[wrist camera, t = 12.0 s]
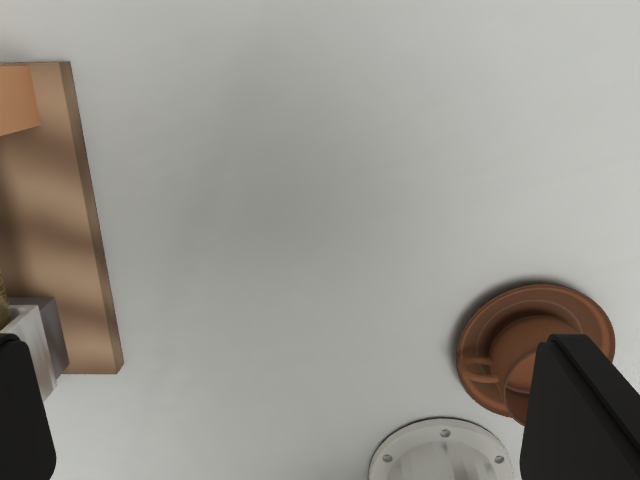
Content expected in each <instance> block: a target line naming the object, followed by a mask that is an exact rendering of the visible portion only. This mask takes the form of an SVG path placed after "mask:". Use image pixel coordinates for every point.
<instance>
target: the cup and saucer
mask: <svg viewBox="0 0 640 480" xmlns="http://www.w3.org/2000/svg"><path fill="white" fill-rule="evenodd" d="M551 334H586V335H587V336H588V337H590V339H591V340H592V341H593V342H594V343H595V344H596V346H597V347H598V348H599V349H600V350H601V351H602V352H603V354H604V355H605V356H606V357H607V358H608V359H609V360H610V362H611V363H612V362H613V358H614V354H615V334H614V330H613V327H612V324H611V322H610V320H609V318H608V316H607V315H606V313H605V312H604V311H603V309H602V308H601V307H600V306H599V305H598V304H597V303H595V302H594V301H593V300H592V299H590V298H589V297H587V296H585V295H584V294H582V293H580V292H577V291H575V290H573V289H570V288H566V287H563V286H558V285H549V284H538V285H529V286H523V287H519V288H516V289H513V290H510V291H507V292H505V293H503V294H501V295H499V296H497V297H495V298H493V299H492V300H490V301H489V302H487V303H486V304H485V305H484V306H482V307H481V308H480V309H479V310H478V311H477V312H476V313H475V314H474V315H473V316H472V318H471V319H470V320H469V322H468V323H467V325H466V326H465V328H464V330H463V332H462V334H461V337H460V340H459V343H458V347H457V370H458V375H459V378H460V381H461V383H462V385H463V387H464V388H465V390H466V391H467V393H468V394H469V395H470V396H471V398H472V399H473V400H475V401H476V402H477V403H478V404H479V405H481V406H482V407H484V408H485V409H487V410H489V411H491V412H493V413H496V414H499V415H502V416H506V417H511V418H513V419H514V420H516V421H517V422H518V423H519V424H521V425H523V426H525V421H526V415H527V408H528V402H529V395H530V389H531V382H532V376H533V369H534V363H535V356H536V350H537V346H538V344H539V343H540V342H547V339H548V337H549V335H551Z"/></svg>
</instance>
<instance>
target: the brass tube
mask: <svg viewBox="0 0 640 480" xmlns="http://www.w3.org/2000/svg"><path fill="white" fill-rule="evenodd" d="M12 321H13V318H12V314H11V310H10V306H9V302H8V298H7V295H6V291H5V287H4V283H3V279H2V275H1V271H0V331H1V330H2V329H3V328H4V327H6V326H7V325H8V324H9V323H10V322H12Z"/></svg>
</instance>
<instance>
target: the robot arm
mask: <svg viewBox="0 0 640 480" xmlns="http://www.w3.org/2000/svg"><path fill="white" fill-rule="evenodd" d="M55 466H56V452H55V448H54V444H53V440H52V436H51V432H50V428H49V425H48V421H47V417H46V413H45V409H44V405H43V401H42V397H41V393H40V389H39V385H38V381H37V377H36V373H35V369H34V365H33V361H32V357H31V353H30V349H29V347H28V345H27V344H26V342H23V341H21V340H20V338H19V337H18V336H17V335H16V334H13V333H0V480H49V479H50V478H51V476H52V474H53V472H54V469H55ZM520 472H521V477H522V480H640V395H639V394H638V393H637V392H636V390H635V389H634V388H633V387H632V386H631V385H630V384H629V382H628V381H627V380H626V379H625V378H624V377H623V375H622V374H621V373H620V372H619V371H618V370H617V369H616V367H615V366H614V365H613V364H612V363H611V362H610V360H609V359H608V358H607V357H606V356H605V355H604V354H603V352H602V351H601V350H600V349H599V348H598V347H597V346H596V344H595V343H594V342H593V341H592V340H591V339H590V337H588V336H587V335H586V334H551V335H549V337H548V339H547V342H540V343H539V344H538V346H537V350H536V356H535V363H534V369H533V376H532V382H531V389H530V395H529V402H528V408H527V415H526V421H525V428H524V434H523V441H522V448H521V454H520ZM369 480H513V469H512V465H511V461H510V459H509V457H508V454H507V452H506V450H505V449H504V447H503V446H502V444H501V443H500V441H499V440H498V439H496V438H495V437H494V436H493V435H492V434H491V433H490V432H488V431H486V430H485V429H483V428H481V427H480V426H477V425H474V424H472V423H469V422H466V421H461V420H456V419H432V420H425V421H421V422H417V423H414V424H411V425H409V426H406V427H404V428H402V429H400V430H398V431H397V432H395V433H394V434H392V435H391V436H389V437H388V438H387V439H386V440H385V441H384V442H383V443H382V444H381V445H380V447H379V448H378V450H377V451H376V453H375V454H374V456H373V459H372V461H371V464H370V469H369Z"/></svg>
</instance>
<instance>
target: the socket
mask: <svg viewBox="0 0 640 480" xmlns="http://www.w3.org/2000/svg"><path fill="white" fill-rule="evenodd" d="M40 125H41V121H40V117H39V112H38V107H37V102H36V97H35V92H34V87H33V83H32V78H31V73H30V68H29V66H2V67H0V136H2V135H6V134H10V133H14V132H18V131H21V130H25V129H29V128H33V127H36V126H40Z"/></svg>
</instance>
